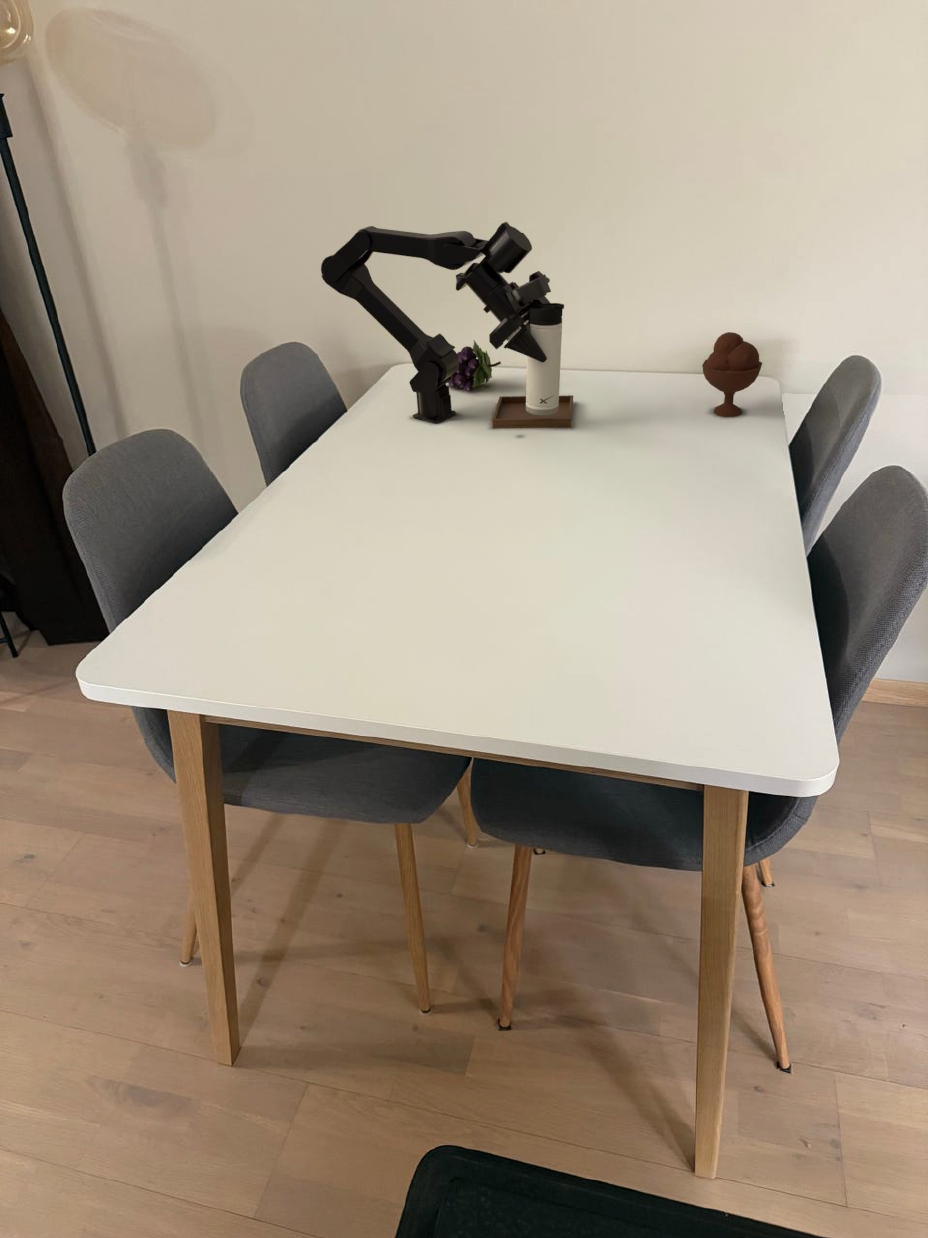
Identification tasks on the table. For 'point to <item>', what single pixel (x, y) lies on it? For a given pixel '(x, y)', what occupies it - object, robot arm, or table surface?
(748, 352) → the ice cream bowl
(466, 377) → the fruit
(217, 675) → the table surface
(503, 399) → the serving tray
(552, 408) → the travel mug
